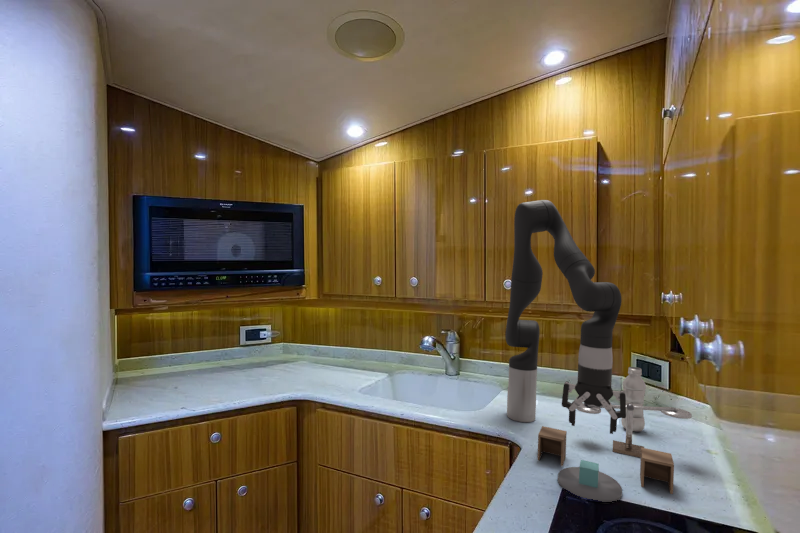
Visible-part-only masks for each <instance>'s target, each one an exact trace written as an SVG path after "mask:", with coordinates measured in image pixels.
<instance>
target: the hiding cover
mask: <svg viewBox="0 0 800 533" xmlns="http://www.w3.org/2000/svg"><path fill="white" fill-rule="evenodd" d="M543 453H546V454H551V455H554V456H555V455H556V456H559V457H560V466H561V467H563V466H564V463H565V460H566V456H567V454H566V453H567V430H564V429H558V428H553V427H547V426H543V425H541V428H540V430H539V432H538V434H537V457H536V458H537V459H536V460H537V461H540V459H541V457H542V455H543Z"/></svg>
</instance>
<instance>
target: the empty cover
mask: <svg viewBox="0 0 800 533" xmlns="http://www.w3.org/2000/svg"><path fill="white" fill-rule="evenodd" d="M639 468H640V469H639V476H640V477H639V478H640V480H639V481H640V486H641V488H644V486H645V485H644V484H645V478H649V479H652V480H657V481H662V482H666V483H667V486H668V488H669V489H668V490H669V494H670V495H673V494H674V479H675V478H674V477H675V462H674V459H673V455H672V453H670V452H665V451H661V450H655V449H650V448H646V447H644V448H642V447H641V458H640V465H639Z"/></svg>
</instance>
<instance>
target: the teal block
mask: <svg viewBox="0 0 800 533" xmlns="http://www.w3.org/2000/svg"><path fill="white" fill-rule="evenodd" d="M599 466H600V464H599V463H598V462H593V461H588V460H584V459H580V463H579V467H580V469H579V483H580V484H584V485H588V486H592V487H596V488H598V472H600V471H599V469H600V468H599Z"/></svg>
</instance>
